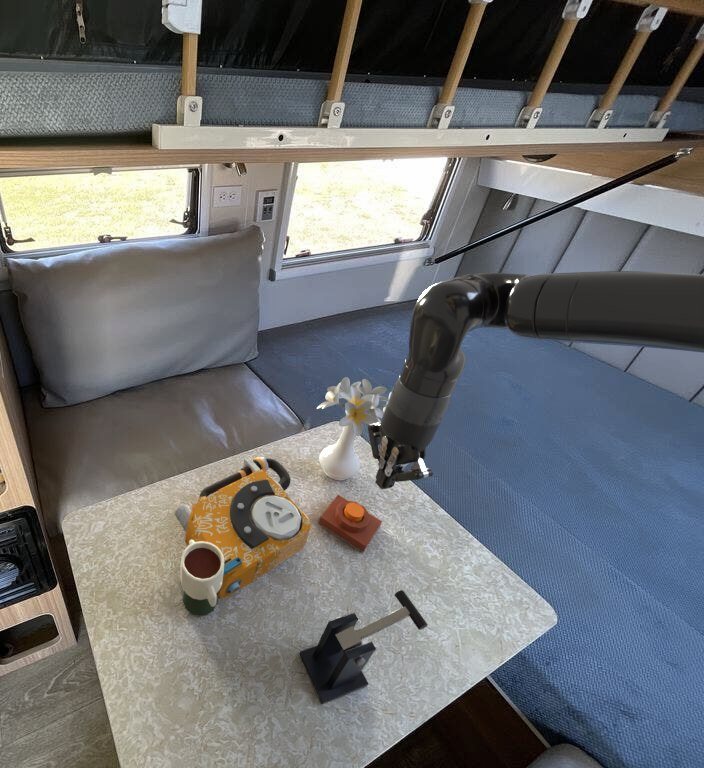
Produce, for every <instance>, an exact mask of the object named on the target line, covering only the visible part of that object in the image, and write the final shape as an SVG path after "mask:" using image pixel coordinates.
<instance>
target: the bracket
mask: <svg viewBox="0 0 704 768" xmlns="http://www.w3.org/2000/svg"><path fill="white" fill-rule="evenodd" d="M358 621H359V618H358V616H357V614H356V612H351V613H349V614H347V615H346V614H345V615H343V616H337V617H335V618H334V619H332V620H329V621H328V622H327V624H326V626H325V627H324V630H323V632H322V635H321V637H320V638H319V641H318V643H317V645H314V646H311V647H309V648H306V649H303V650H300V651H299V653H298V656H299V658H300V661H301V663H302V665H303V667H304V669H305V671H306V673H307V676H308V678H309V680H310V682H311V684H312V687H313V689H314V691H315V693H316V695H317V698H318V700H319V702H320V705H325V704H328V703H330V702H332V701H335V700H338V699H339V698H343V697H345V696H347V695H350V694H352V693H354V692H357V691H360V690H362V689H365V688H367V687H368V685H369V682H368V680H367V678H366V676H365V674H364V672H363V671H362V670H364V668H365V667H366V665H367V664H368V662H369V660H370V659H371V657H372V656H373V655H374V653H375V652H376V650H377V648H376V646H375V644H374V643H373V641H369V642H366V643H362V645H361V646H358V647H355V648H353V649H350V650H347V651H345V652H343V650H342V649H341V647H340V645H339V643H338V641H337V639H336V636H335V634H337V633H339V632H341V631H343V630H345V629H347V628H349V627H351V626H353V628H354V629H355V626H356V624H357V623H358Z"/></svg>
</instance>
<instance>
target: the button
mask: <svg viewBox="0 0 704 768" xmlns="http://www.w3.org/2000/svg"><path fill="white" fill-rule="evenodd" d="M357 503H358V502H357ZM357 503H348V504H347V505H346V508H345V510H344V515H345V517H346V518H347V519H348V520H350V521H352V522H359V521H361V520H362V517H363V515H364V509H363V508H362V507H361V506H360V505H361V504H360V503H359V504H360V505H359V504H357Z"/></svg>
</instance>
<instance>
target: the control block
mask: <svg viewBox="0 0 704 768" xmlns="http://www.w3.org/2000/svg"><path fill="white" fill-rule="evenodd" d="M348 503H357V504H359V505H360V506H361V507H362V508H363V509H364V515H363V517H362V520H361V521H359V522H352V521H350V520H348V519H347V518H346V517H345V515H344V510H345V508H346V505H347V504H348ZM382 523H383V520H381V519H380V518H378V517H376V516H374V515H373V514H371V513H370V512H369V511H368V510H367V509H366V507H365V506H364V505H362V504H360V503H359V502H357V501H353V500H348V499H346V498H345V497H343V496H341V495H339V494H337V495H336V496H335V497H334V499H333V500H332V501H331V502H330V504H329V505H328V506H327V507H326V509H325V510H324V511H323V513H322V514H321V515H320V517H319V520H318V524H319V525H321V526H322V527H324V528H325V529H327V530H328V531H329V532H330V533H333V534H334V535H336V536H337V537H339V538H341V539H342V540H343V541H345V542H347V543H348V544H349V545H351V546H352V547H353V548H355V549H357V550H358V551H359V552H362V553H365V551H366V550H367V548H368V546H369V545H370V543H371V541H373V538H374V537H375V535H376V533H377V532H378V530H379V529H380V527H381V525H382Z"/></svg>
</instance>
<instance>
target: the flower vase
mask: <svg viewBox="0 0 704 768" xmlns="http://www.w3.org/2000/svg"><path fill="white" fill-rule="evenodd" d="M361 384H362V386H361ZM336 385H337V386H334V385H333V386H328V387H327V389H326V391H327V392H326V394H325V400H326V401H323V402H322V403H320V404H319V405H318V406H317V407H316V410H319V409H321V410H324V409H326V408H328V407H333V406H336V405H338V406H340V407H342V408H344V412H345V413H344V414H345V416H343V417H341V419H340V420H339V422H338V424H339V426H341V427H343V428H342V430H341V433H340V436H339V438H338V440H337V441H336V442H335V443H334V444H329V445H327V446H326V447H324V448H323V449H322V451H321V452H320V454H319V457H318V461H319V464H320V466H321V468H322V469H323V472H324V473H325V475H326V476H327V477H328V478H330V479H332V480H335V481H340V482H341V481H345V480H347V479H351V478H353V477H355V476H356V475H358V474H359V472H360V470H361V460H360V457H359V456H358V453H356V451H355V449H354V444H355V442H356V441H355V440H356V437H361V436H362V434H363V433H364V424H365V425H367V426H368V425H371V424H375V423H381V419H382V417H383V414H384V411H385V409H386V406H387V403H388V401H389V398H390V395H391V393H392V391H390V392H389V395H388V397H386V396H384V395H383V394H384V393H386V392H387V389H388V388H387V387H385V386H376V387H374V388H373V386H372V384H371V382H370V381H369V380H368V379H366V378H363V379H361V380H360V381H355V382H353V383H352V384H351V381H350V378H349V377H348V376H346V377H343V378H342V379H341V381H340V382H339V383H338V384H336ZM361 394H362V395H361ZM340 399H344V400H345V401H347V402H345V403H344V404H343V403H341V402H340ZM380 402H386V403H385V404H383V403H380ZM379 403H380V404H379ZM379 407H383V408H382V410H381V408H379Z"/></svg>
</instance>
